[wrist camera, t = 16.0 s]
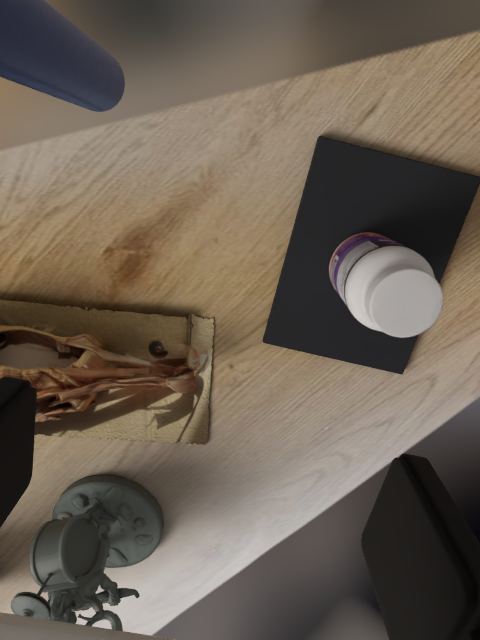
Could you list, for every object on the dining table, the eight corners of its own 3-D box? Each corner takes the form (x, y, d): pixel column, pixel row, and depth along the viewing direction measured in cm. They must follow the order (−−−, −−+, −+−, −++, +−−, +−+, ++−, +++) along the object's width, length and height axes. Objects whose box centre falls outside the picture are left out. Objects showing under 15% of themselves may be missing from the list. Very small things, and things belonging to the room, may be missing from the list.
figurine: (87, 569, 44) (31, 705, 33) (36, 490, 41) (-46, 611, 30) (180, 543, 43) (154, 677, 32) (134, 460, 40) (87, 575, 28)
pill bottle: (414, 264, 32) (478, 302, 23) (361, 314, 34) (402, 368, 25) (365, 215, 31) (412, 234, 22) (313, 268, 33) (336, 307, 23)
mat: (318, 136, 30) (319, 135, 30) (478, 177, 31) (482, 177, 30) (262, 340, 35) (262, 342, 35) (400, 371, 36) (402, 374, 35)
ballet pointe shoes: (-207, 307, 29) (206, 325, 28) (-124, 285, 35) (215, 299, 35) (-157, 476, 33) (204, 494, 32) (-91, 429, 39) (212, 444, 39)
